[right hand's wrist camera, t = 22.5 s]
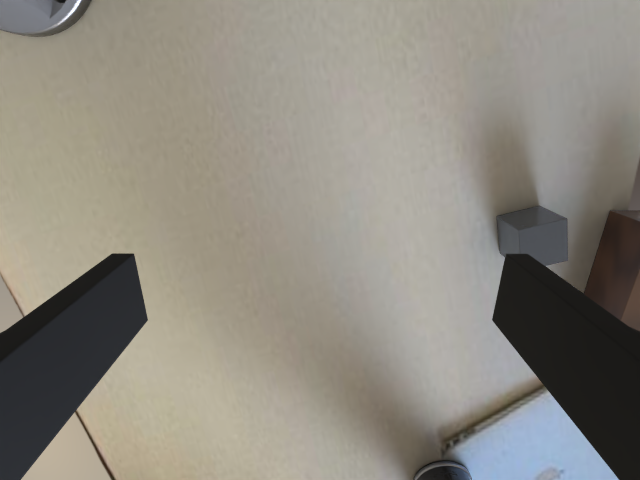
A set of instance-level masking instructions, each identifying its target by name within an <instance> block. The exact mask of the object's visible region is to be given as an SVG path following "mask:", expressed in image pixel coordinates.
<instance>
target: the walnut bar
mask: <svg viewBox="0 0 640 480" xmlns="http://www.w3.org/2000/svg"><path fill="white" fill-rule="evenodd" d="M584 295H586V296H587V297H589V298H590V299H591V300H593V301H594V302H596V303H597V304H598V305H600V306H601V307H603V308H604V309H605V310H607V311H608V312H609V313H611V314H612V315H614V316H615V317H616V318H618V319H619V320H621V321H622V322H623V323H625V324H626V325H627V326H629V327H631V328H633V329H636V330H638V331H640V211H610V213H609V216H608V219H607V222H606V225H605V229H604V232H603V235H602V238H601V241H600V244H599V248H598V251H597V254H596V257H595V260H594V264H593V267H592V270H591V273H590V276H589V280H588V283H587V286H586V289H585V292H584Z"/></svg>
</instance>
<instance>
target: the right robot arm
mask: <svg viewBox="0 0 640 480" xmlns="http://www.w3.org/2000/svg"><path fill="white" fill-rule="evenodd" d="M90 2H91V0H0V30H3V31H6V32H11V33H15V34H19V35H24V36H33V37H41V36H49V35H53V34H56V33H59V32H61V31H64V30H66V29H67V28H69V27H70V26H72V25H73V24H74V23H75V22H77V21H78V20H79V18H80V17H81V16H82V15H83V14H84V12H85V11H86V9H87V8H88V6H89V4H90ZM147 320H148V319H147V314H146V309H145V304H144V300H143V295H142V290H141V285H140V280H139V276H138V271H137V266H136V261H135V256H134V254H111V255H110V256H108V257H107V258H106V259H104V260H103V261H101V262H100V263H99V264H97V265H96V266H94V267H93V268H92V269H90V270H89V271H87V272H86V273H85V274H83V275H82V276H81V277H79V278H78V279H76V280H75V281H74V282H72V283H71V284H69V285H68V286H67V287H65V288H64V289H62V290H61V291H60V292H58V293H57V294H56V295H54V296H53V297H51V298H50V299H49V300H47V301H46V302H44V303H43V304H42V305H40V306H39V307H37V308H36V309H35V310H33V311H32V312H31V313H29V314H28V315H26V316H25V317H24V318H22V319H21V320H19V321H18V322H17V323H15V324H14V325H12V326H11V327H10V328H8V329H7V330H6V331H4V332H1V333H0V480H21V479H22V477H23V476H24V475H25V474H26V472H27V471H28V470H29V469H30V467H31V466H32V465H33V464H34V462H35V461H36V460H37V458H38V457H39V456H40V455H41V453H42V452H43V451H44V450H45V448H46V447H47V446H48V445H49V443H50V442H51V441H52V440H53V438H54V437H55V436H56V435H57V433H58V432H59V431H60V430H61V428H62V427H63V426H64V425H65V423H66V422H67V421H68V420H69V418H70V417H71V416H72V415H73V413H74V412H75V411H76V410H77V408H78V407H79V406H80V405H81V403H82V402H83V401H84V400H85V398H86V397H87V396H88V395H89V393H90V392H91V391H92V389H93V388H94V387H95V386H96V384H97V383H98V382H99V381H100V379H101V378H102V377H103V376H104V374H105V373H106V372H107V371H108V369H109V368H110V367H111V366H112V364H113V363H114V362H115V361H116V359H117V358H118V357H119V356H120V354H121V353H122V352H123V351H124V349H125V348H126V347H127V346H128V344H129V343H130V342H131V341H132V339H133V338H134V337H135V336H136V334H137V333H138V332H139V331H140V329H141V328H142V327H143V326H144V324H145V323H146V322H147ZM492 320H493V322H494V323H495V324H496V326H497V327H498V328H499V329H500V331H501V332H502V333H503V334H504V336H505V337H506V338H507V339H508V341H509V342H510V343H511V344H512V346H513V347H514V348H515V349H516V351H517V352H518V353H519V354H520V356H521V357H522V358H523V359H524V361H525V362H526V363H527V364H528V366H529V367H530V368H531V369H532V371H533V372H534V373H535V374H536V376H537V377H538V378H539V379H540V381H541V382H542V383H543V384H544V386H545V387H546V388H547V389H548V391H549V392H550V393H551V395H552V396H553V397H554V398H555V400H556V401H557V402H558V403H559V405H560V406H561V407H562V408H563V410H564V411H565V412H566V413H567V415H568V416H569V417H570V418H571V420H572V421H573V422H574V423H575V425H576V426H577V427H578V428H579V430H580V431H581V432H582V433H583V435H584V436H585V437H586V438H587V440H588V441H589V442H590V443H591V445H592V446H593V447H594V448H595V450H596V451H597V452H598V453H599V455H600V456H601V457H602V459H603V460H604V461H605V462H606V464H607V465H608V466H609V467H610V469H611V470H612V471H613V472H614V474H615V475H616V476H617V477H618V479H619V480H640V331H638V330H636V329H633V328H631V327H629V326H627V325H626V324H625V323H623V322H622V321H621V320H619V319H618V318H616V317H615V316H614V315H612V314H611V313H609V312H608V311H607V310H605V309H604V308H603V307H601V306H600V305H598V304H597V303H596V302H594V301H593V300H591V299H590V298H589V297H587V296H586V295H584V294H583V293H582V292H580V291H579V290H578V289H576V288H575V287H573V286H572V285H571V284H569V283H568V282H566V281H565V280H564V279H562V278H561V277H559V276H558V275H557V274H555V273H554V272H553V271H551V270H550V269H548V268H547V267H546V266H544V265H543V264H541V263H540V262H539V261H537V260H536V259H534V258H533V257H532V256H530V255H529V254H506V256H505V261H504V266H503V271H502V276H501V280H500V285H499V290H498V295H497V300H496V304H495V309H494V314H493V319H492Z"/></svg>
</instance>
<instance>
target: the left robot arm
mask: <svg viewBox="0 0 640 480" xmlns="http://www.w3.org/2000/svg"><path fill="white" fill-rule="evenodd" d="M414 480H472V478H471V476H470V473H469V471H468V470H467V469H466V468H465V467H464V466H462V465H461V464H458V463H455V462H449V461H441V462H435V463H432V464H429V465H427V466H425V467H423V468H422V469H421V470H420V471H419V472H418V473H417V474H416V475H415V477H414Z"/></svg>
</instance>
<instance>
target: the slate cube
mask: <svg viewBox="0 0 640 480" xmlns="http://www.w3.org/2000/svg"><path fill="white" fill-rule="evenodd" d="M497 226H498V237H499V249H500V254H501V255H503V256H504V257H505V256H506V254H529V255H530V256H532V257H533V258H534V259H536V260H537V261H539V262H540V263H541V264H543V265H544V266H546V265H551V264H555V263H559V262H564V261H568V238H567V218H565V217H563V216H561V215H558V214H556V213H554V212H552V211H550V210H548V209H545V208H543V207H541V206H536V207H532V208H528V209H524V210H520V211H516V212H512V213H508V214H503V215H499V216H497Z"/></svg>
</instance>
